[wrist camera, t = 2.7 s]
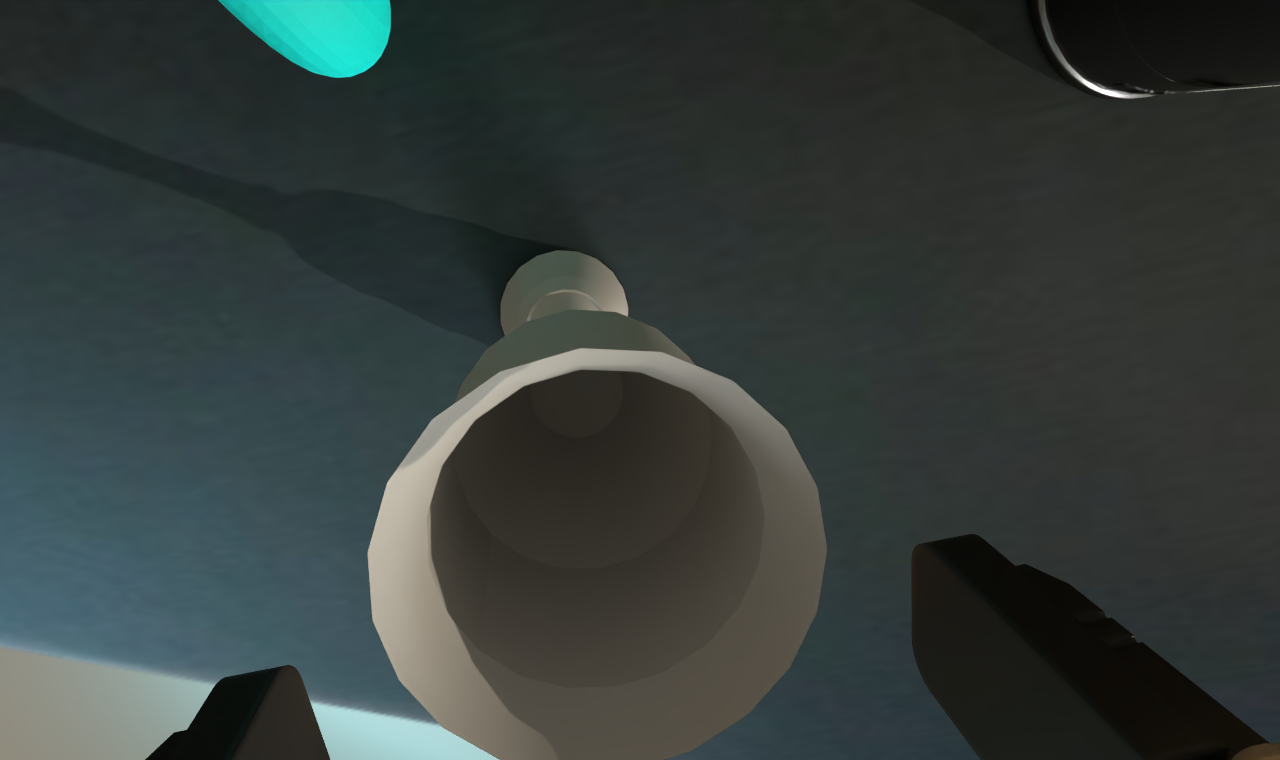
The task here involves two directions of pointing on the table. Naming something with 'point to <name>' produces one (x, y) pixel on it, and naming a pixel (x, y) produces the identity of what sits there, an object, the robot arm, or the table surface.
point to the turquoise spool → (320, 31)
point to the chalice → (594, 538)
